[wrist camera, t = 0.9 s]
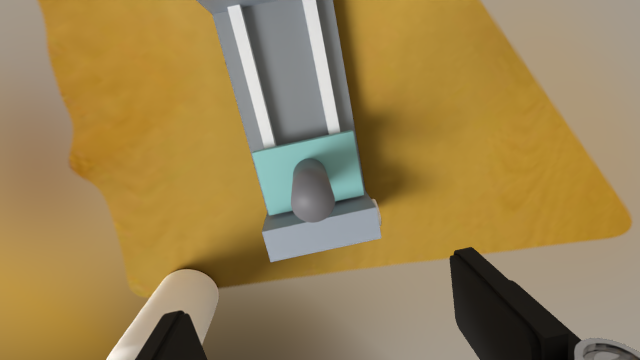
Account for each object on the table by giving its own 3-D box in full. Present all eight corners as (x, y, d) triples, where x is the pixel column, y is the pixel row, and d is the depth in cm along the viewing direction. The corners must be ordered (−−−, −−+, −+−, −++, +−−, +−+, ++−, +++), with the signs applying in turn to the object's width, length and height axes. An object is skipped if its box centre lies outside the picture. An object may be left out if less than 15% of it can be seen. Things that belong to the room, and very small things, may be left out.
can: (148, 291, 34) (69, 395, 22) (188, 255, 33) (128, 345, 21) (192, 325, 35) (140, 439, 24) (232, 293, 34) (198, 395, 23)
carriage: (253, 151, 27) (235, 174, 20) (351, 129, 27) (371, 145, 20) (270, 211, 29) (259, 254, 21) (362, 191, 29) (384, 227, 21)
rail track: (206, -21, 26) (179, -53, 20) (326, -47, 26) (334, -87, 20) (275, 231, 32) (270, 262, 27) (370, 211, 32) (385, 237, 27)
